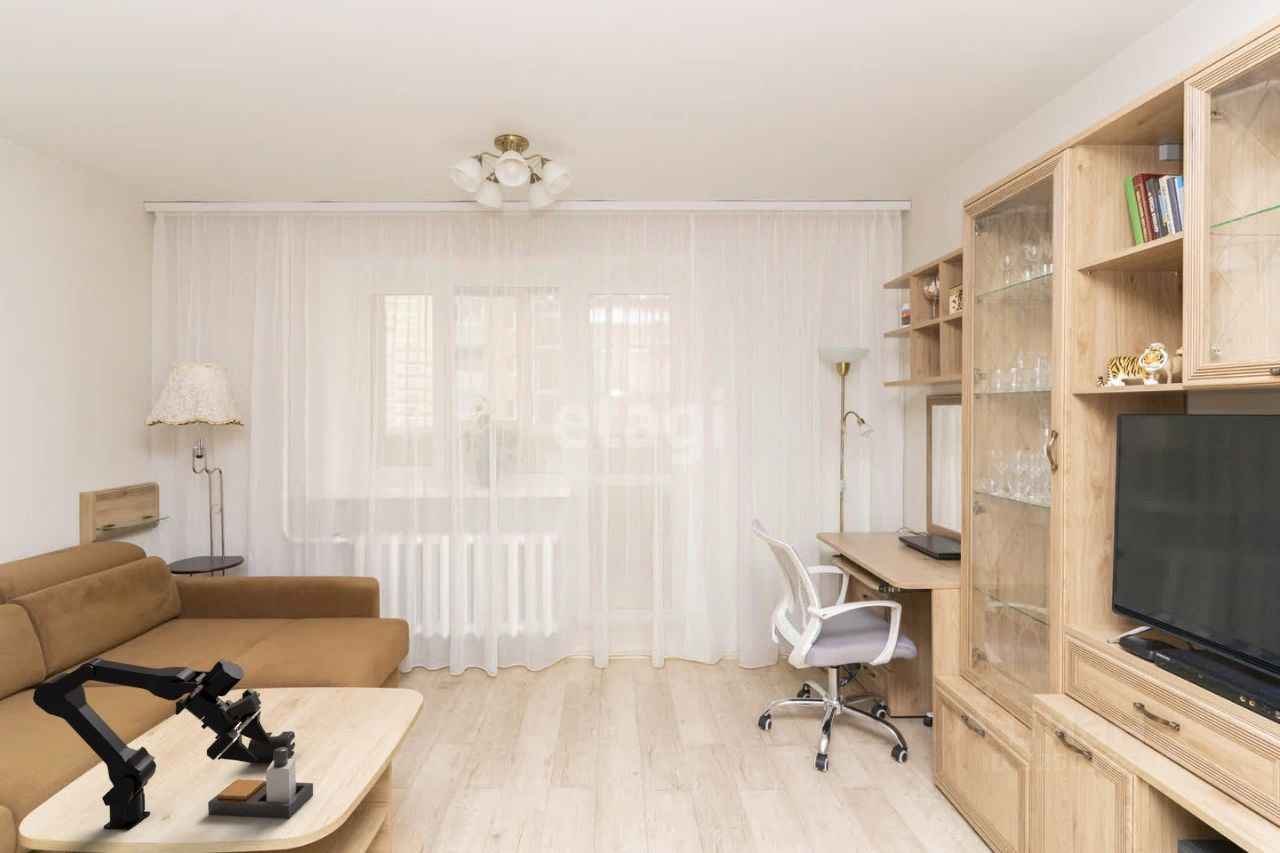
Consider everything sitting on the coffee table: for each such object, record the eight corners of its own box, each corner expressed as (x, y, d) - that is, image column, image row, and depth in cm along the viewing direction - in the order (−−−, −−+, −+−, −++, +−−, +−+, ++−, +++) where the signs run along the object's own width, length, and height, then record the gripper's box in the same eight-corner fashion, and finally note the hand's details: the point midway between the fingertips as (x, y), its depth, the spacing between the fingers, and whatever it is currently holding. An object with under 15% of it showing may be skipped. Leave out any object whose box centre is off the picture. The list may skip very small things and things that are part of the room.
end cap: (247, 768, 188) (246, 742, 187) (259, 755, 195) (258, 730, 195) (286, 765, 189) (285, 740, 188) (296, 752, 196) (296, 728, 195)
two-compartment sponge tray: (289, 818, 164) (288, 801, 164) (208, 814, 166) (208, 798, 166) (313, 795, 174) (312, 779, 174) (236, 791, 176) (236, 775, 176)
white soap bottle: (266, 810, 166) (265, 756, 166) (273, 799, 171) (272, 746, 171) (289, 808, 167) (288, 754, 167) (296, 796, 172) (294, 744, 172)
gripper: (220, 700, 158) (275, 744, 160) (251, 670, 176) (299, 710, 178) (182, 738, 156) (238, 782, 159) (217, 703, 175) (266, 743, 177)
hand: (262, 752), depth 168 cm, fingers open, 9 cm apart
